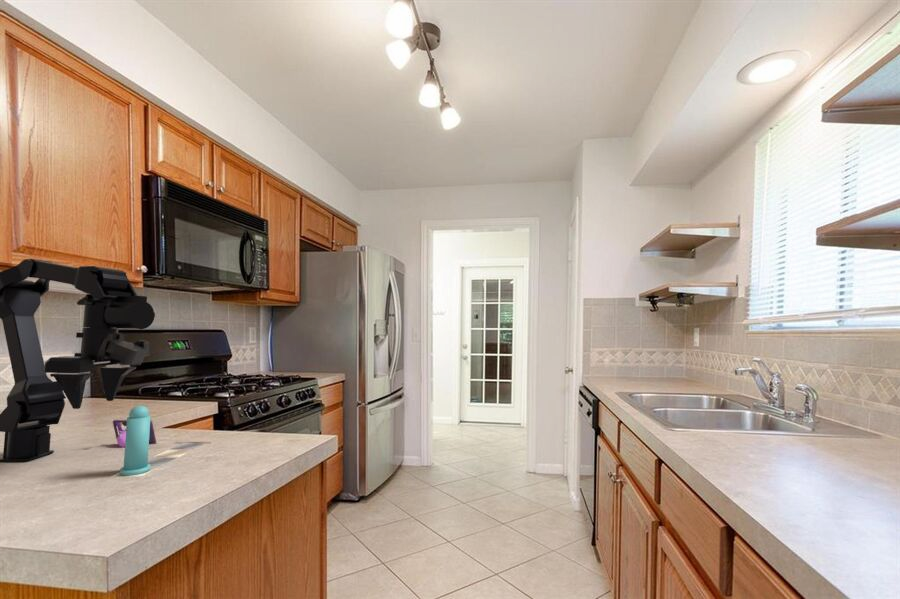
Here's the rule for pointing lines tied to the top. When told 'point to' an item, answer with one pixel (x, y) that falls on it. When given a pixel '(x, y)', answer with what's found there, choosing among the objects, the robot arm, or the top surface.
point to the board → (168, 454)
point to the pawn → (137, 442)
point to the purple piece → (122, 433)
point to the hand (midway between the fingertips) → (94, 404)
